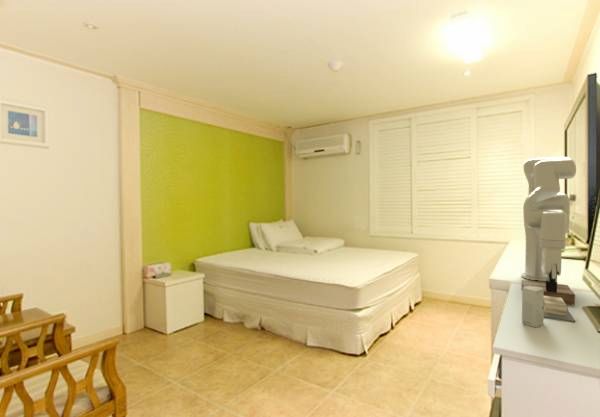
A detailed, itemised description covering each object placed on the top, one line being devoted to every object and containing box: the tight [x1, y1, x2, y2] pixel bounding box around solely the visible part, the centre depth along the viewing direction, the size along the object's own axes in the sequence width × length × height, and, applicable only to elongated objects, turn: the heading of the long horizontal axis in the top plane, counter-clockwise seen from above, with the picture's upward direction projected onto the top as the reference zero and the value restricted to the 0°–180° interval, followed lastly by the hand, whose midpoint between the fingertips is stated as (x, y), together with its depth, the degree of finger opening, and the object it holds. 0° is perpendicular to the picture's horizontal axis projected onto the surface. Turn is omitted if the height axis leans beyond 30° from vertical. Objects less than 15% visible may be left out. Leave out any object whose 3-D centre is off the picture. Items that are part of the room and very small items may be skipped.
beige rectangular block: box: [544, 296, 568, 315], centre depth 119 cm, size 9×6×4 cm, turn 150°
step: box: [520, 279, 576, 306], centre depth 135 cm, size 14×16×4 cm
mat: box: [543, 308, 576, 323], centre depth 120 cm, size 20×12×1 cm, turn 150°
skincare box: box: [521, 286, 545, 328], centre depth 108 cm, size 6×4×12 cm
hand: (551, 291), depth 124 cm, fingers closed
